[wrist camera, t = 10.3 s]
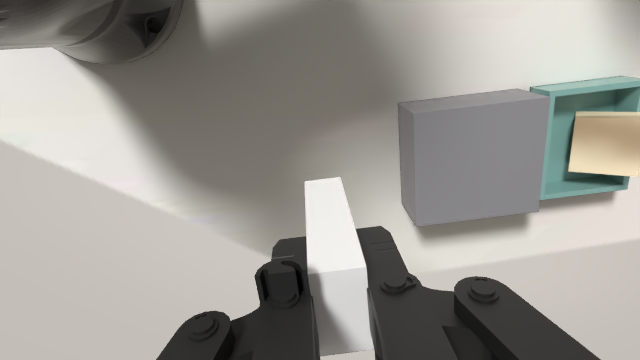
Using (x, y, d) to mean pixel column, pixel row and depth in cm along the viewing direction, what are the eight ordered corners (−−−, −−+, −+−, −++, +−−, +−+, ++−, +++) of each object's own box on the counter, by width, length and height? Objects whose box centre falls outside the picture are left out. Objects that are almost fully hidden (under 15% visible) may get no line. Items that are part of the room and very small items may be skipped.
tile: (650, 118, 36) (646, 112, 39) (575, 117, 40) (575, 111, 42) (638, 176, 39) (634, 167, 41) (568, 171, 42) (568, 162, 44)
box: (530, 87, 41) (549, 91, 38) (620, 75, 41) (648, 79, 38) (521, 188, 45) (538, 200, 42) (603, 178, 46) (627, 189, 42)
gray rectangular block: (397, 103, 41) (413, 113, 35) (516, 88, 41) (550, 96, 36) (401, 203, 45) (416, 226, 40) (509, 189, 45) (538, 211, 40)
